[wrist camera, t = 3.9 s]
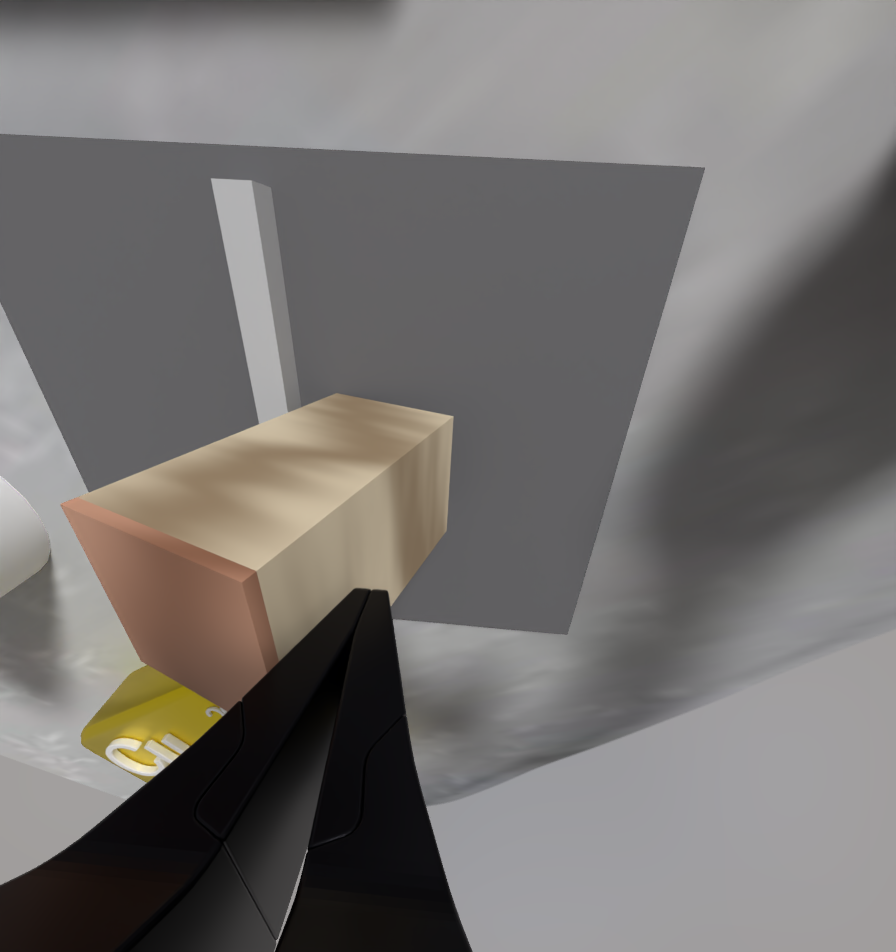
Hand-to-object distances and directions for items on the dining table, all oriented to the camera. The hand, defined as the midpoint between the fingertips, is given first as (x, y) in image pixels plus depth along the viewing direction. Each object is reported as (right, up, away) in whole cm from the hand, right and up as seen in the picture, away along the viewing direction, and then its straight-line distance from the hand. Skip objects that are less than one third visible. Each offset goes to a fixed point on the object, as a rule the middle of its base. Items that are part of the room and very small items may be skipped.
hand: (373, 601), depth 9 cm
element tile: (-12, -14, +19) cm, 26 cm away
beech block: (0, +4, +6) cm, 7 cm away
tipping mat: (-3, +5, +8) cm, 9 cm away
